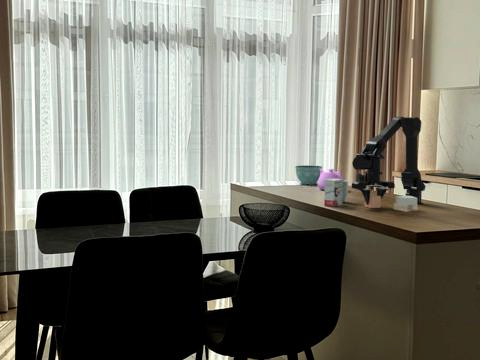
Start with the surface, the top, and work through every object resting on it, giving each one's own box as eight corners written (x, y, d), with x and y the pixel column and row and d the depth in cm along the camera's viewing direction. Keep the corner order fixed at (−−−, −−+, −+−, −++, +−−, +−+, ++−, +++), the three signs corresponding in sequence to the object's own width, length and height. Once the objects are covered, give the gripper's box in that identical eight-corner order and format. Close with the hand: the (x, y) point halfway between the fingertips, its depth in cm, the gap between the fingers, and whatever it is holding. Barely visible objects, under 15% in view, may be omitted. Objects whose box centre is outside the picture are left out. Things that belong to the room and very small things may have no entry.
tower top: (409, 202, 243) (409, 195, 243) (417, 204, 237) (417, 197, 237) (395, 202, 242) (396, 196, 242) (403, 205, 236) (403, 198, 236)
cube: (374, 205, 249) (374, 194, 249) (380, 207, 244) (381, 196, 244) (364, 206, 247) (364, 195, 247) (370, 208, 243) (371, 196, 242)
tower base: (405, 209, 245) (405, 202, 244) (417, 211, 239) (417, 204, 238) (393, 210, 241) (393, 203, 241) (405, 212, 235) (405, 205, 235)
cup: (349, 201, 264) (349, 180, 263) (344, 203, 257) (345, 181, 256) (333, 200, 267) (333, 179, 266) (328, 202, 260) (329, 181, 259)
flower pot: (294, 185, 332) (294, 166, 330) (295, 182, 347) (296, 165, 346) (321, 186, 329) (322, 167, 328) (322, 183, 345) (322, 165, 344)
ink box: (333, 207, 246) (334, 180, 245) (323, 205, 249) (324, 179, 248) (342, 204, 253) (343, 178, 251) (332, 203, 256) (333, 178, 254)
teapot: (350, 191, 304) (351, 169, 302) (330, 192, 298) (330, 170, 296) (328, 187, 321) (329, 167, 320) (309, 188, 315) (309, 167, 314)
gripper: (381, 167, 255) (380, 201, 257) (345, 168, 249) (344, 202, 250) (396, 169, 245) (394, 204, 246) (359, 170, 238) (357, 206, 240)
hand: (372, 204), depth 246 cm, fingers closed on cube, 5 cm apart
